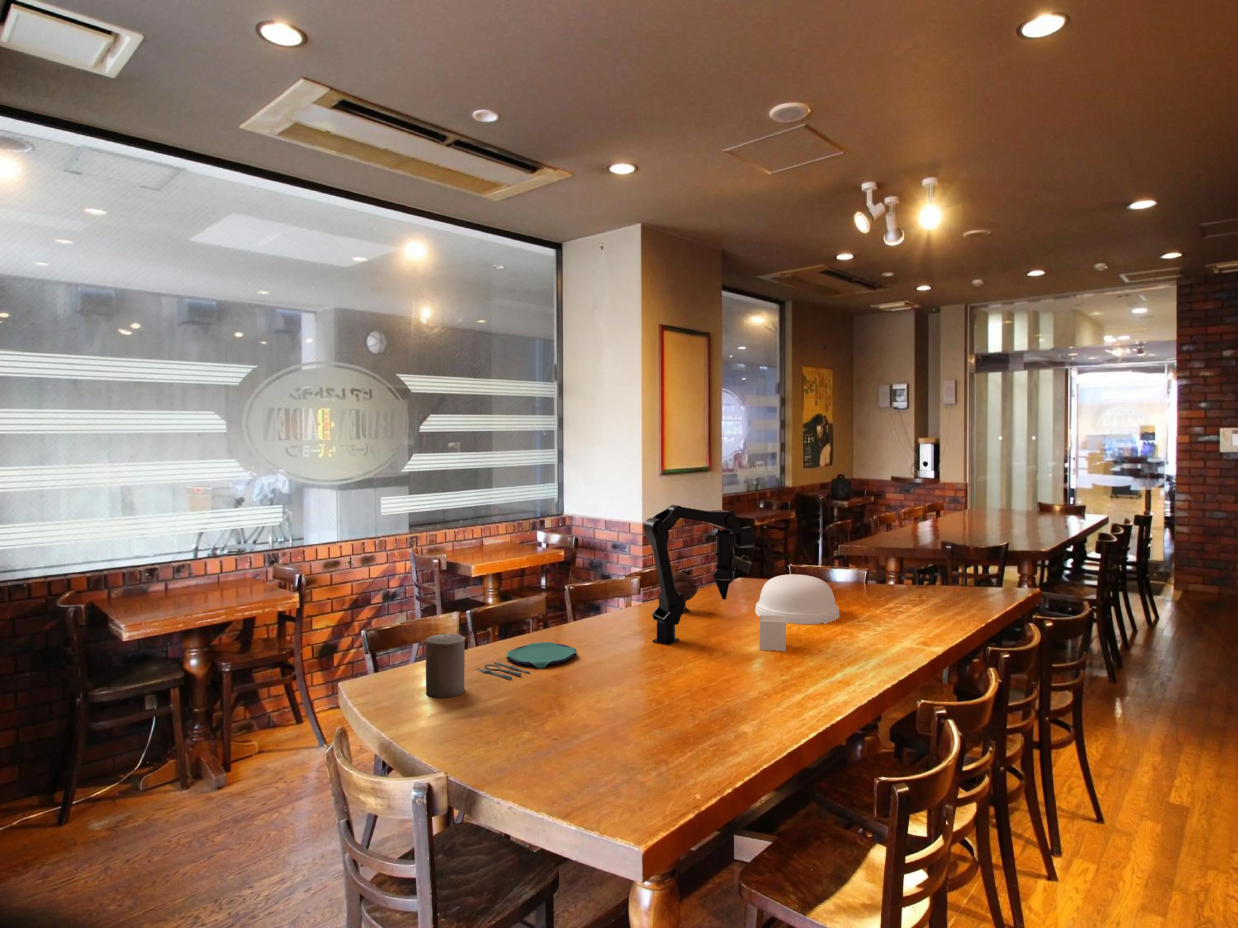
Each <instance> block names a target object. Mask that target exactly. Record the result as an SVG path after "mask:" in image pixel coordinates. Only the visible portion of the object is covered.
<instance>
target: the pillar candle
mask: <svg viewBox="0 0 1238 928" xmlns="http://www.w3.org/2000/svg"><path fill="white" fill-rule="evenodd" d="M465 639H466V637H464V636H463V635H460V634H453V633H443V634H442V633H441V634H436V635H431V636H428V637H427V638H426V640H425V694H426V696H429V697H431V698H434V699H447V698H448V699H449V698H455V697H457V696H460V695H461V694H463V693H465V675H466V674H465V663H466V662H465V657H466V656H465V653H466V652H465V642H466V641H465Z"/></svg>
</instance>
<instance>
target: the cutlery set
mask: <svg viewBox="0 0 1238 928" xmlns="http://www.w3.org/2000/svg"><path fill="white" fill-rule="evenodd" d="M577 654H578V652H577V649H576V648H575V647H572V646H570V645H566V644H561V643H555V642H551V641H549V642H548V641H547V642H546V641H545V642H543V641H542V642H541V641H540V642H532V643H530V644H529V643H528V644H526V645H522V646H518V647H516V648H514V649H511V650H509V651H507V655H506V660H507V659H508V660H510V661H511V662H514V663H516V664H521V665H527V666H534V667H535V668H537V669H545V667H546V666H548V665H552V664H557V663H558V664H559V663H561V662H565V661H567V660H569V659H572V658H573V657H575V656H577ZM489 667H495V668H489ZM501 667H503V668H507V669H502V668H501ZM484 668H485V669H484ZM484 668H483V669H482V668H481V667H480V668H479V667H478V668H476V669H474V671H478V672H480V673H483V674H488V675H489V674H491V675H492V676H496V677H499V678H503V679H506V680H509V681H511V680H513V679H512V678H513V676H511V675H508V674H501V673H496V672H495V671H500V672H504V673H509V674H512V675H516V676H518V677H520V676H522V672H523V673H526V674H528V675H529V674H530V673H531V672H530V670H529V671H527V670H524V669H522V668H518V666H514V665H508V664H505V663H501V662H496V661H495V662H493V664H489V663H488V664H484ZM509 669H510V670H509ZM516 670H517V671H516Z"/></svg>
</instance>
